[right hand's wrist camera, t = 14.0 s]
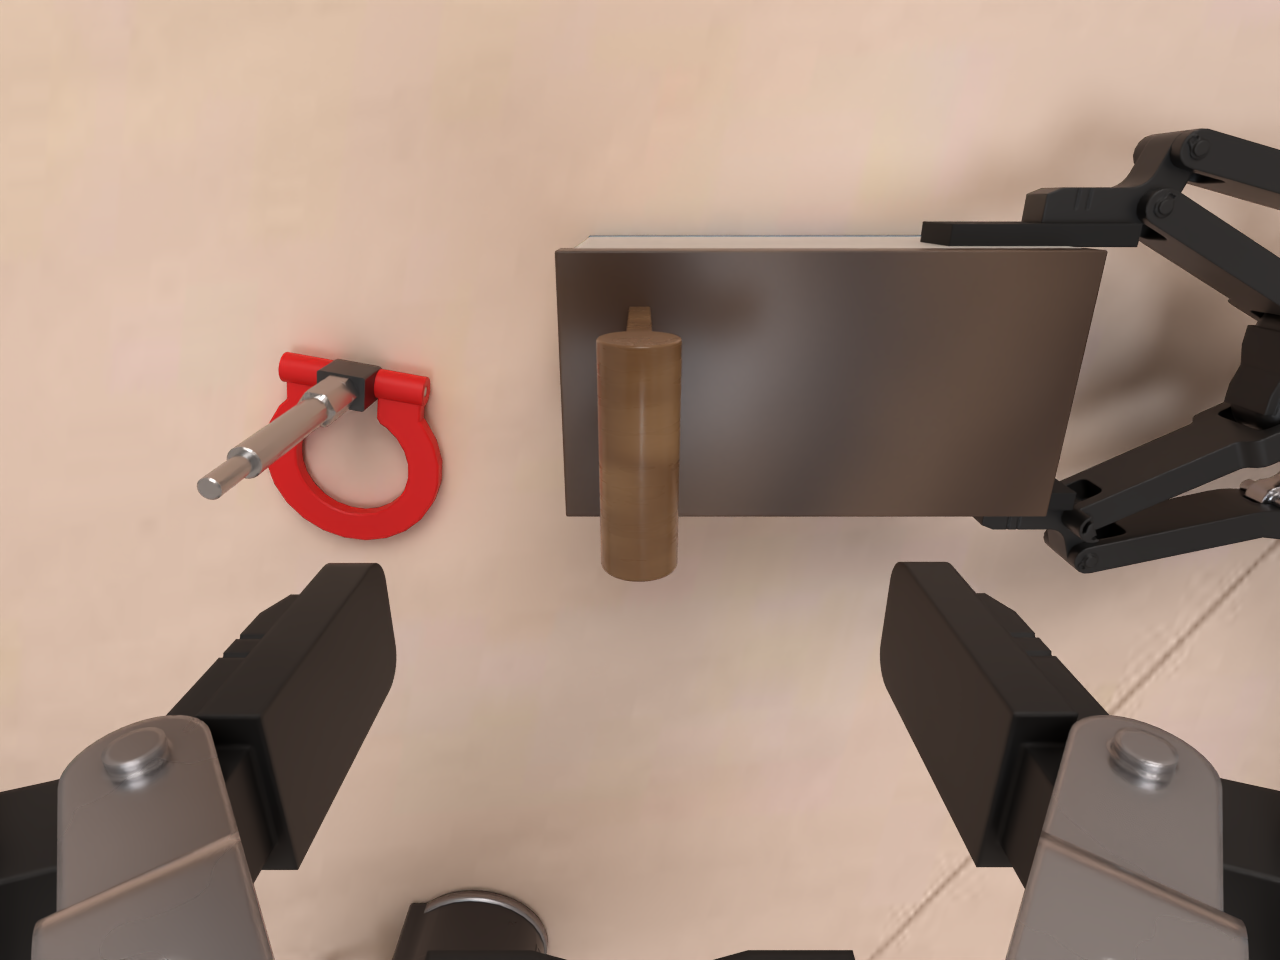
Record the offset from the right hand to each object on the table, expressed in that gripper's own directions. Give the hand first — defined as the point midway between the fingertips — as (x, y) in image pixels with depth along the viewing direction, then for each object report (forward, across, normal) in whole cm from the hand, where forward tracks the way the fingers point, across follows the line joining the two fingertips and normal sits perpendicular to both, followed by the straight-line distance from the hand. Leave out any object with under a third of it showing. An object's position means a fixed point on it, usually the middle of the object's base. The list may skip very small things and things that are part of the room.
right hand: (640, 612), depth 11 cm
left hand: (+17, +11, 0) cm, 20 cm away
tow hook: (+24, -14, -6) cm, 28 cm away
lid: (+15, +6, 0) cm, 16 cm away
